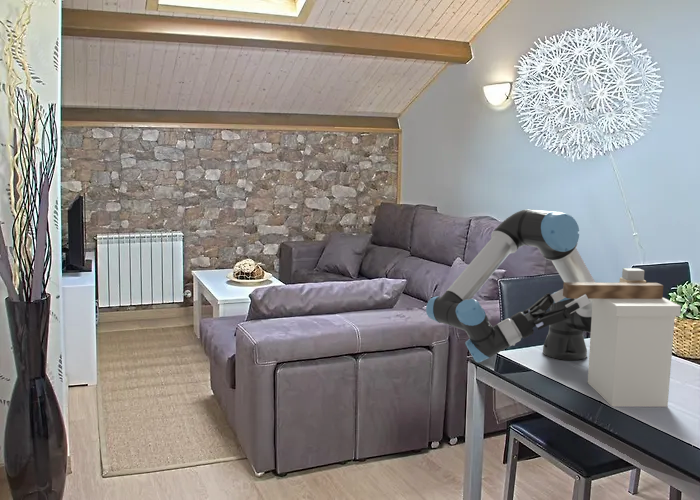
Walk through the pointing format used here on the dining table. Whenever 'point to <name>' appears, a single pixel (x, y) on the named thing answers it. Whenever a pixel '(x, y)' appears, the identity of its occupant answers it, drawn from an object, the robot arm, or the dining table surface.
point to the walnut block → (613, 290)
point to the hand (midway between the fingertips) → (579, 293)
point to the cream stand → (632, 350)
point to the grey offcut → (633, 274)
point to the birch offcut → (631, 281)
